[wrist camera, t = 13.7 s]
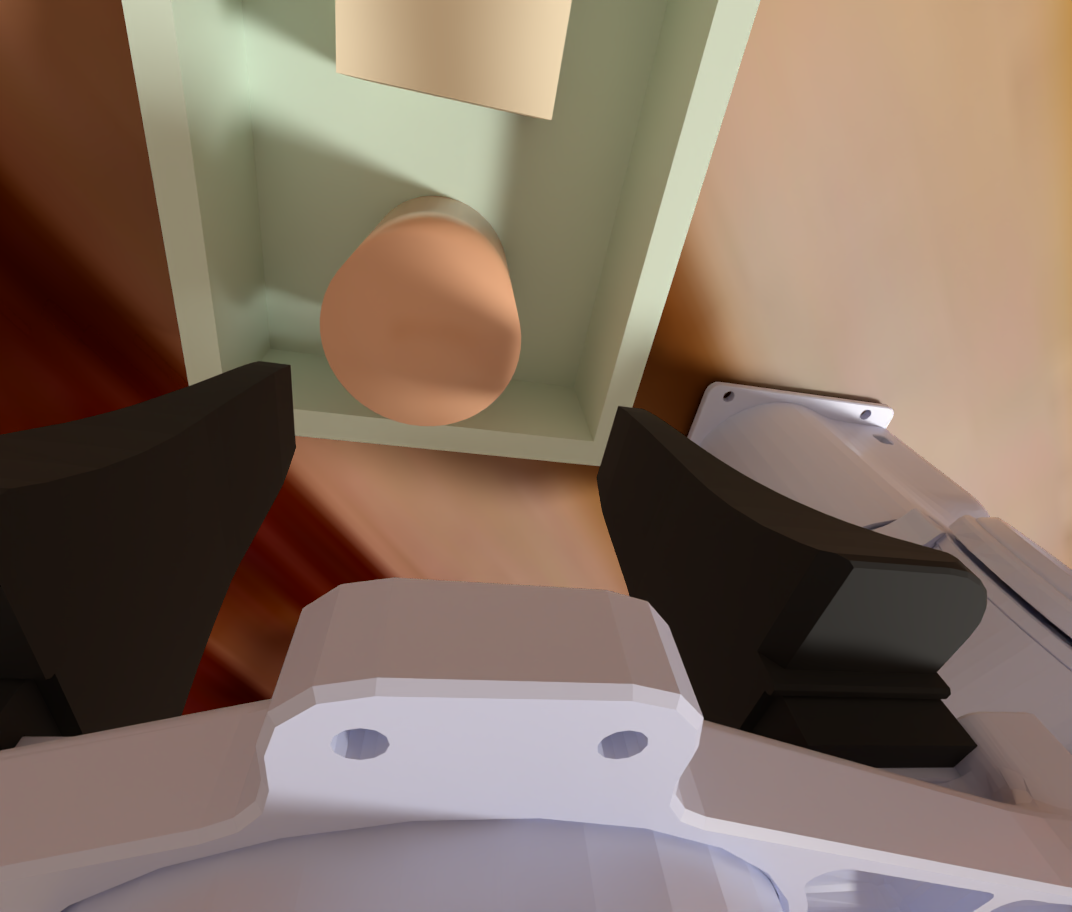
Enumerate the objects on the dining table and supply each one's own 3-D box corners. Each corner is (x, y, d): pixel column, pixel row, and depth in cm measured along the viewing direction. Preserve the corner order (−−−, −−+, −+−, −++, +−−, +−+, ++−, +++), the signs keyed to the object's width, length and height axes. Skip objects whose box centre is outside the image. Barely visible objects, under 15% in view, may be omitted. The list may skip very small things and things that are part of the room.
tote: (744, -187, 14) (857, -309, 10) (588, 404, 24) (613, 467, 20) (170, -391, 12) (4, -667, 8) (250, 363, 21) (195, 425, 17)
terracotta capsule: (514, 205, 18) (532, 249, 13) (500, 342, 21) (511, 431, 15) (364, 186, 18) (310, 223, 12) (370, 331, 20) (328, 419, 14)
